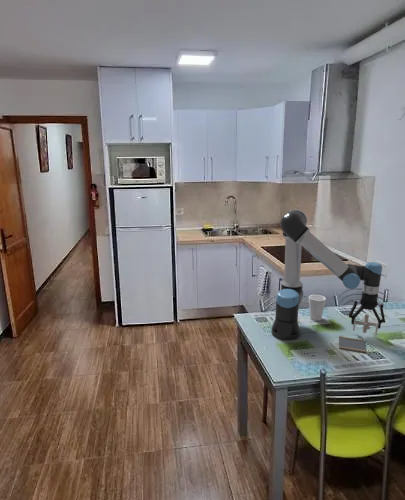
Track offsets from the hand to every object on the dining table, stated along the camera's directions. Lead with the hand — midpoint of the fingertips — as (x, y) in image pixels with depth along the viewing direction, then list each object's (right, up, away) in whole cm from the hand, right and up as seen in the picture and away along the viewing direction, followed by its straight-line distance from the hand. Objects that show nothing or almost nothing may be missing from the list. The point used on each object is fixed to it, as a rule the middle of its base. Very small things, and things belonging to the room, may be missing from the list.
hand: (364, 331), depth 187 cm
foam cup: (-19, +3, +22) cm, 29 cm away
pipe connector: (0, 0, 0) cm, 0 cm away
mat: (-11, -5, -9) cm, 15 cm away
